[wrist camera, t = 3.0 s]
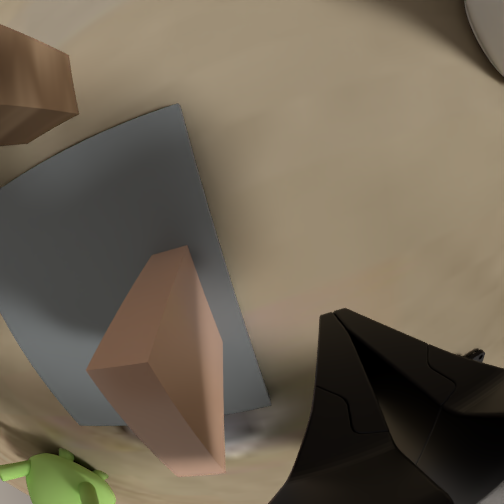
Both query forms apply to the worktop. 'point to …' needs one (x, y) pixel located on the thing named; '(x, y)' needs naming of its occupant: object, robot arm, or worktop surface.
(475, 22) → the mug
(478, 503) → the robot arm
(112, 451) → the worktop surface
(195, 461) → the tile
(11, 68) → the walnut block
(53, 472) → the teapot
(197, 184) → the mat
